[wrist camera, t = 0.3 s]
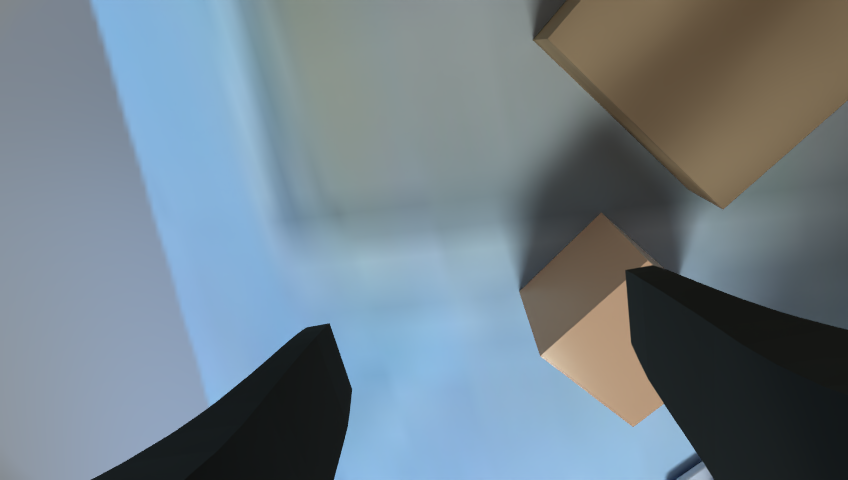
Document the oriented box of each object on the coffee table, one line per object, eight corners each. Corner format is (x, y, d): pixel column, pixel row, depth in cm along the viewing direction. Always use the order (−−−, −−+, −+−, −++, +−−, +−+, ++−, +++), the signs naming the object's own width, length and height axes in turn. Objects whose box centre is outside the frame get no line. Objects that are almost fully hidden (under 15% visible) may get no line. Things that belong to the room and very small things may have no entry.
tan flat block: (881, 5, 18) (964, -3, 15) (684, 187, 20) (723, 209, 18) (726, -191, 16) (789, -242, 13) (530, 40, 18) (547, 38, 16)
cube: (677, 279, 22) (742, 344, 17) (594, 350, 23) (633, 427, 18) (600, 211, 20) (647, 260, 16) (518, 290, 22) (540, 356, 17)
